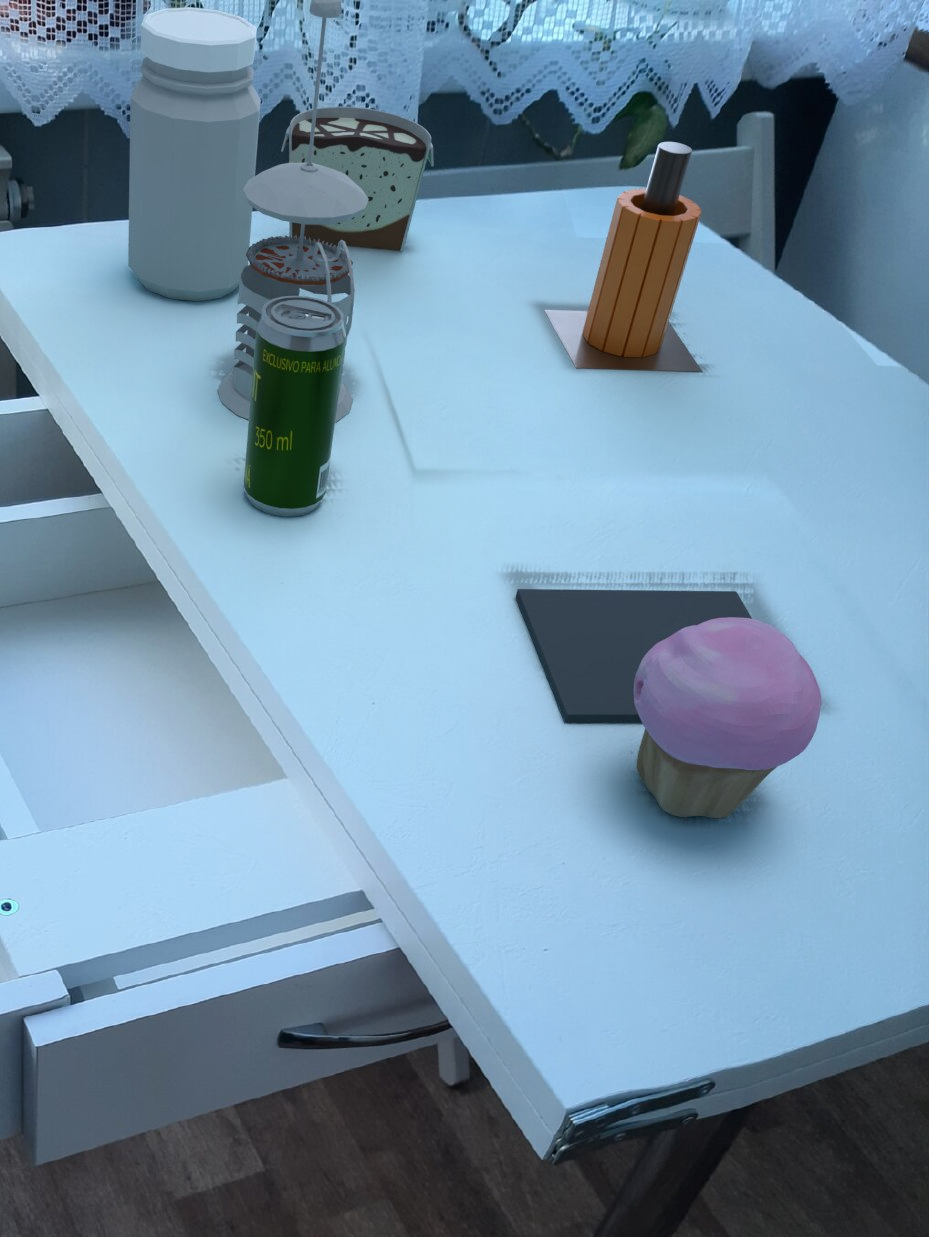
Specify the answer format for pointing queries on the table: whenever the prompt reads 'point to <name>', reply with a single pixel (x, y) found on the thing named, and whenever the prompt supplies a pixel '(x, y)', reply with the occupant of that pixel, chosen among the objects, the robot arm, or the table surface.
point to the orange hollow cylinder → (639, 276)
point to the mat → (609, 641)
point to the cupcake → (721, 713)
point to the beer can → (293, 404)
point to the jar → (192, 153)
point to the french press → (295, 247)
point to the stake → (672, 351)
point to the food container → (365, 170)
